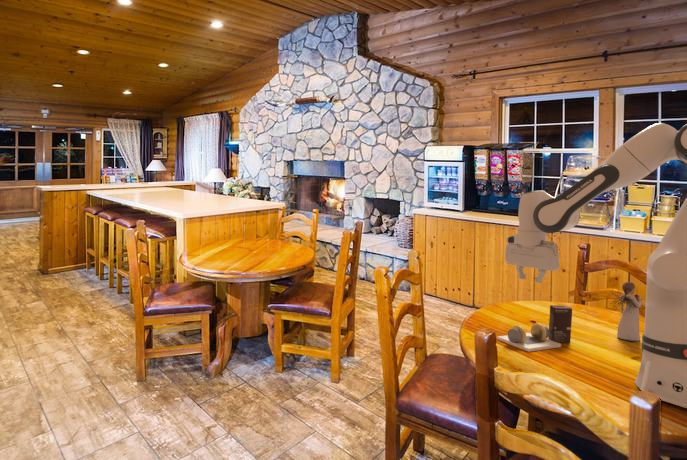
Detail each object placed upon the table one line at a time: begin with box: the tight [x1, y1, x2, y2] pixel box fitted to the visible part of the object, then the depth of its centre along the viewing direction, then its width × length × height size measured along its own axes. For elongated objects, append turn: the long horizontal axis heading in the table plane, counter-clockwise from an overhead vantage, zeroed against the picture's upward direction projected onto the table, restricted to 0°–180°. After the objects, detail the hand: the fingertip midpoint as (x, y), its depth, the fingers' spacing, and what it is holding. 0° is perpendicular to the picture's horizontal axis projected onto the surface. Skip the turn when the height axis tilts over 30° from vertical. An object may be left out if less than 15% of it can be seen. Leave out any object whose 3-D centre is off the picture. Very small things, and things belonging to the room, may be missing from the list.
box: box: [547, 304, 573, 344], centre depth 149 cm, size 6×4×12 cm
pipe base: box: [496, 323, 562, 353], centre depth 146 cm, size 14×14×6 cm
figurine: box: [610, 281, 643, 342], centre depth 152 cm, size 10×10×20 cm
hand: (530, 280), depth 145 cm, fingers open, 6 cm apart
